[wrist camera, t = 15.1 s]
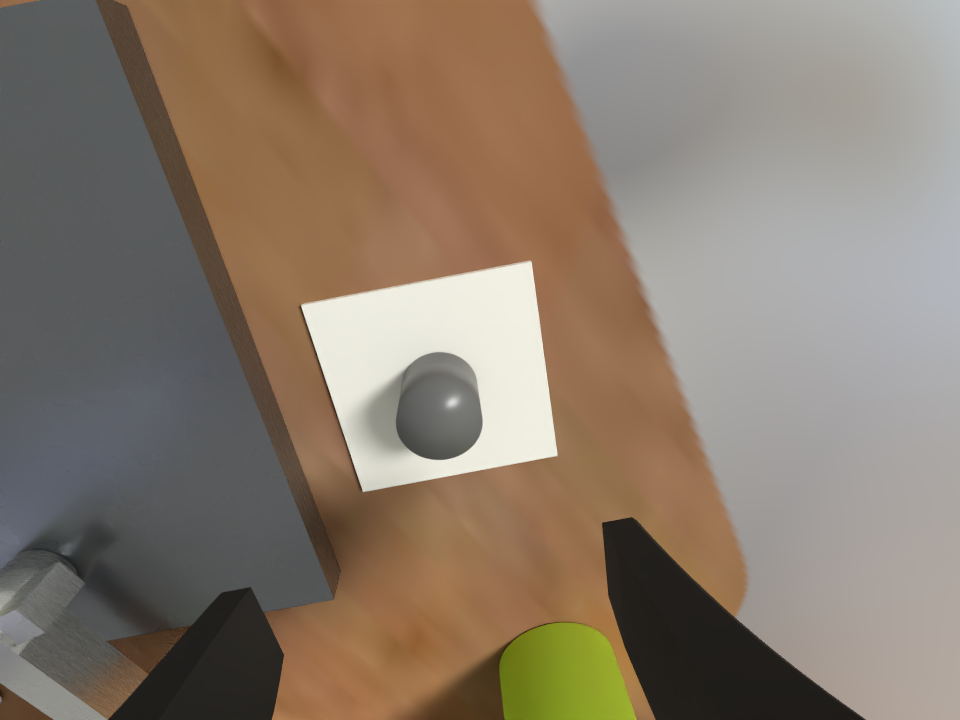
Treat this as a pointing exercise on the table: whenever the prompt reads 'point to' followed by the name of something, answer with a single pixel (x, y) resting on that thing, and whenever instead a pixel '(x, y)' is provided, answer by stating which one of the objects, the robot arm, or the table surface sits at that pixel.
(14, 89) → the panel
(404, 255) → the table surface
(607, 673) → the soap dispenser
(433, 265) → the table surface
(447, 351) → the cover
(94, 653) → the t key
